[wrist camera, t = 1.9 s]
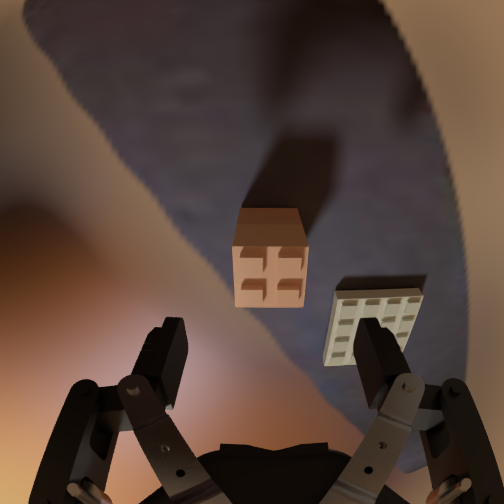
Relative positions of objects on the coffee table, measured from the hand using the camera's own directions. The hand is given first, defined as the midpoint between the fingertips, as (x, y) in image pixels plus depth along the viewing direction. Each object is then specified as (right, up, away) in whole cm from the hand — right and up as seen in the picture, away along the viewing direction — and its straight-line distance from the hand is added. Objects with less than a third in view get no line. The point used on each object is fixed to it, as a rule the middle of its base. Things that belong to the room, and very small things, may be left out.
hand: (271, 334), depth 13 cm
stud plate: (+10, -3, +13) cm, 16 cm away
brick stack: (0, +5, +9) cm, 10 cm away
